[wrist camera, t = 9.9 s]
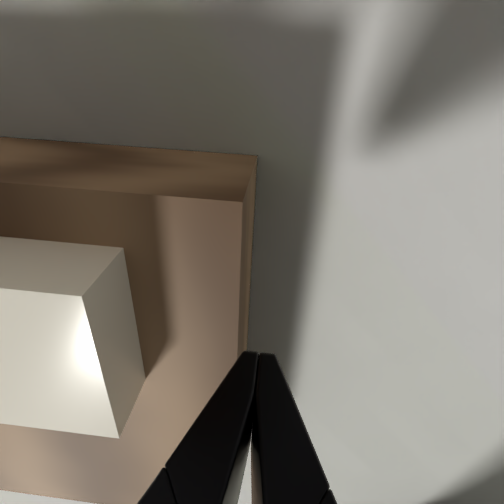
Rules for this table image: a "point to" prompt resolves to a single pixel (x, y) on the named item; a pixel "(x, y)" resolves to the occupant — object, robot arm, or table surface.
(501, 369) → the table surface
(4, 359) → the tile
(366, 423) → the table surface
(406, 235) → the table surface
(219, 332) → the board
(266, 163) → the table surface
